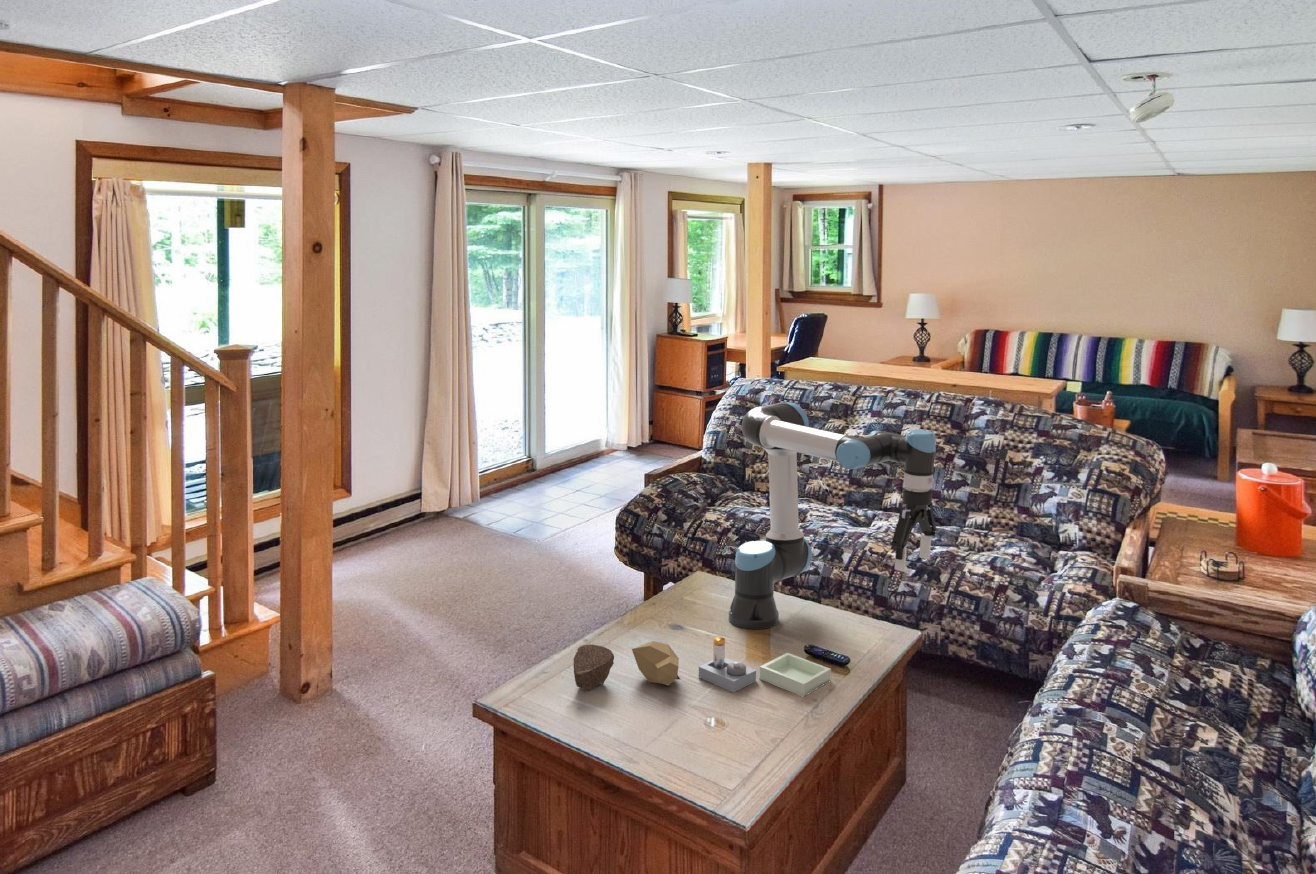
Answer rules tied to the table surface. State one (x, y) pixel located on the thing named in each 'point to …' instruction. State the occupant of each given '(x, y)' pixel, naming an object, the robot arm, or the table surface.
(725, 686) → the block
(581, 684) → the rock
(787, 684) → the tray
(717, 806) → the table surface
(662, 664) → the low-poly potato
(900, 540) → the robot arm
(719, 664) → the lock pin
